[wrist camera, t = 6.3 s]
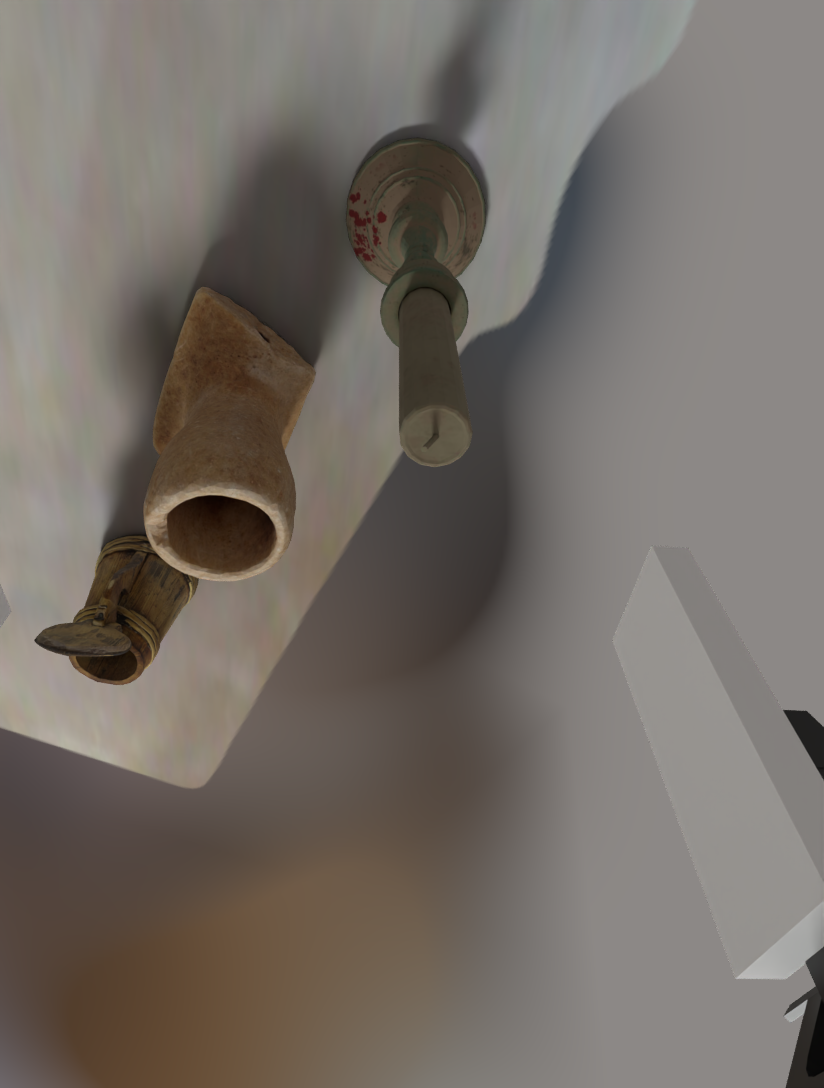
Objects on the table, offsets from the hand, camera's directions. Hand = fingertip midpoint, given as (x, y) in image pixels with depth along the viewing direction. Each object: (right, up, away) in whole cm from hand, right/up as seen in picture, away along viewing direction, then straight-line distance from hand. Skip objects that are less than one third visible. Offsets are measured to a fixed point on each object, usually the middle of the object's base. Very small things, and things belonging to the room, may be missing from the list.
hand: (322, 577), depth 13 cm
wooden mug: (-22, 0, +46) cm, 51 cm away
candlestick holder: (+2, +22, +29) cm, 36 cm away
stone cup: (-11, +12, +37) cm, 40 cm away
